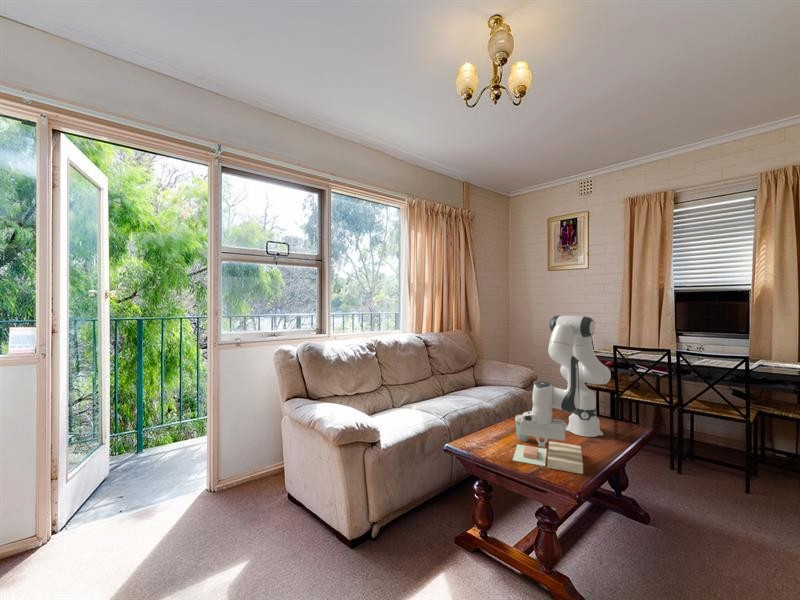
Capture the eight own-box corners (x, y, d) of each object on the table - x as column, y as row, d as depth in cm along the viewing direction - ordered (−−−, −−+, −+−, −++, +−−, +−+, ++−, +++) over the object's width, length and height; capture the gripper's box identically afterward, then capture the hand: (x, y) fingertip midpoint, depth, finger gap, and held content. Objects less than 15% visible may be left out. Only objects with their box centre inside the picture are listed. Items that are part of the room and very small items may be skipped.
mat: (517, 444, 188) (517, 444, 188) (546, 449, 182) (546, 449, 182) (512, 460, 170) (512, 459, 170) (545, 466, 164) (545, 465, 164)
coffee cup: (530, 443, 190) (530, 420, 190) (513, 440, 194) (513, 417, 194) (533, 438, 197) (533, 415, 197) (516, 435, 201) (516, 413, 201)
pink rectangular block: (538, 447, 179) (538, 452, 179) (525, 445, 181) (525, 449, 181) (537, 455, 170) (537, 459, 170) (523, 452, 173) (523, 457, 173)
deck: (549, 449, 183) (549, 441, 183) (580, 454, 177) (580, 445, 177) (547, 467, 163) (547, 458, 163) (582, 474, 157) (583, 464, 157)
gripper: (566, 418, 173) (565, 447, 173) (520, 412, 181) (519, 440, 181) (566, 422, 167) (565, 452, 167) (518, 416, 175) (518, 445, 175)
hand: (541, 446), depth 174 cm, fingers closed
